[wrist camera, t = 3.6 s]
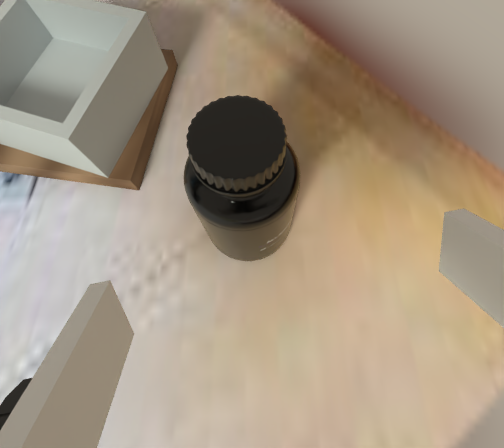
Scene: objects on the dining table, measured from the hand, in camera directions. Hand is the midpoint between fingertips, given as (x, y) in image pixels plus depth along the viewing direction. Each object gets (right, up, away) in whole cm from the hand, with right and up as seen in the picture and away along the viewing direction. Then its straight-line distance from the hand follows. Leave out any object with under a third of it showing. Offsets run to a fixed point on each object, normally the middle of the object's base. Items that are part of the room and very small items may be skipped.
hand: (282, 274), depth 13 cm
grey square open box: (-17, +13, +16) cm, 27 cm away
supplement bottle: (-1, +2, +14) cm, 14 cm away
